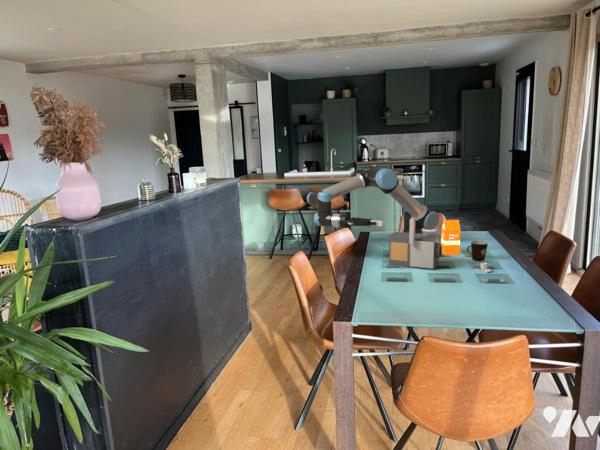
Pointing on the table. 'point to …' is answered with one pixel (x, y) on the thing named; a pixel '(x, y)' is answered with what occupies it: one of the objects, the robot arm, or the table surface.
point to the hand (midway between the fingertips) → (382, 223)
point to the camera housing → (401, 248)
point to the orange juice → (450, 237)
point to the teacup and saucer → (484, 267)
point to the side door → (420, 250)
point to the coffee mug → (478, 250)
